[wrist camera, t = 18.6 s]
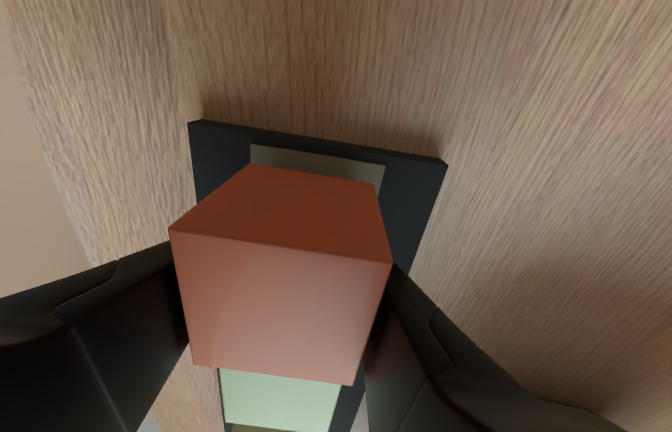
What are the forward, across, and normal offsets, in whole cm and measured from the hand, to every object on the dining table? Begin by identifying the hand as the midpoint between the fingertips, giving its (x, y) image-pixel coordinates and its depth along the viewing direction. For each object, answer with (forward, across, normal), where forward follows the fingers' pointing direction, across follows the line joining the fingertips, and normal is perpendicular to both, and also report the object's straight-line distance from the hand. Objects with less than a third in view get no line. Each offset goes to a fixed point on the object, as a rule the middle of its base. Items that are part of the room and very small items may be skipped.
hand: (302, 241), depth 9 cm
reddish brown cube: (+1, 0, 0) cm, 1 cm away
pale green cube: (+2, 0, +6) cm, 6 cm away
